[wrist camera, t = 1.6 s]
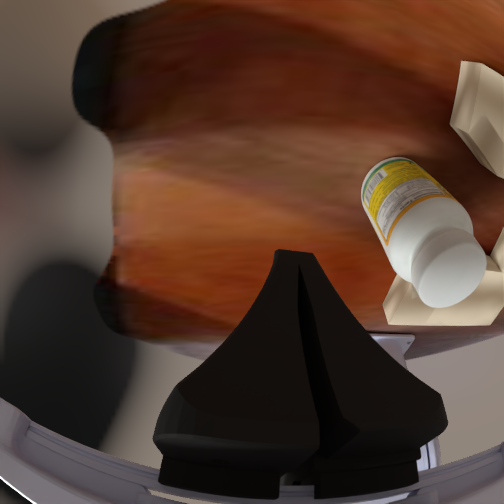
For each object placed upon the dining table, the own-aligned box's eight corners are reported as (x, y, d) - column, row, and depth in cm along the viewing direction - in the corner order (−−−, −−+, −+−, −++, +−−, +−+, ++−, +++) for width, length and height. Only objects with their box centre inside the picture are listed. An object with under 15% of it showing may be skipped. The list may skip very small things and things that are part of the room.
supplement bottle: (352, 165, 18) (403, 247, 11) (421, 148, 17) (503, 216, 9) (366, 230, 21) (405, 329, 13) (428, 213, 20) (489, 300, 12)
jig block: (481, 309, 25) (490, 326, 23) (382, 304, 25) (389, 325, 23) (560, 128, 12) (578, 138, 10) (461, 60, 13) (483, 63, 10)
